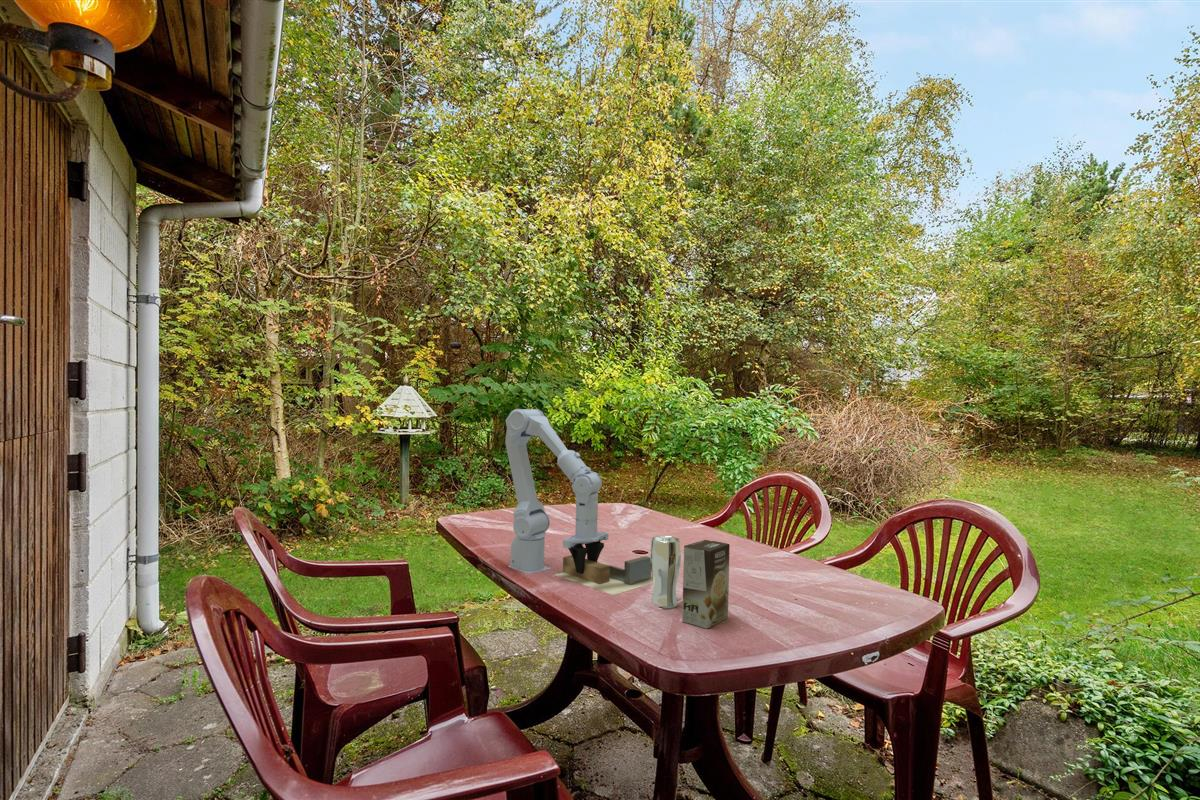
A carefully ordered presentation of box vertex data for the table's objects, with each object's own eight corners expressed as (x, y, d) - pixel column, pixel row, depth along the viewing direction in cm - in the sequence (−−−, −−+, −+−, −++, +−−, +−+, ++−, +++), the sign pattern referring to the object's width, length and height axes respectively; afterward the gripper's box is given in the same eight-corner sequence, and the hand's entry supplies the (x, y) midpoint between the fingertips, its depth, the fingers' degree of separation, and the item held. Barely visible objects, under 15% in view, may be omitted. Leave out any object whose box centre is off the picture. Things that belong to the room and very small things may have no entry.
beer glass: (644, 606, 132) (645, 539, 132) (656, 597, 138) (657, 534, 138) (673, 611, 129) (674, 543, 129) (684, 602, 135) (685, 537, 135)
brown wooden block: (562, 572, 155) (563, 557, 155) (572, 569, 158) (572, 555, 158) (599, 584, 145) (599, 568, 146) (609, 581, 148) (609, 565, 148)
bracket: (607, 578, 151) (607, 556, 151) (628, 572, 157) (628, 551, 157) (630, 585, 145) (630, 563, 145) (650, 578, 151) (651, 557, 151)
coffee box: (708, 629, 119) (709, 551, 119) (681, 622, 123) (682, 545, 123) (729, 617, 126) (730, 543, 126) (702, 610, 130) (704, 538, 130)
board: (553, 576, 153) (553, 574, 153) (601, 564, 166) (602, 562, 166) (613, 597, 138) (613, 595, 138) (662, 582, 150) (662, 579, 150)
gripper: (576, 525, 144) (575, 580, 144) (616, 518, 154) (616, 569, 154) (557, 520, 149) (556, 574, 149) (598, 514, 159) (597, 563, 159)
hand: (585, 571), depth 152 cm, fingers closed on brown wooden block, 3 cm apart
